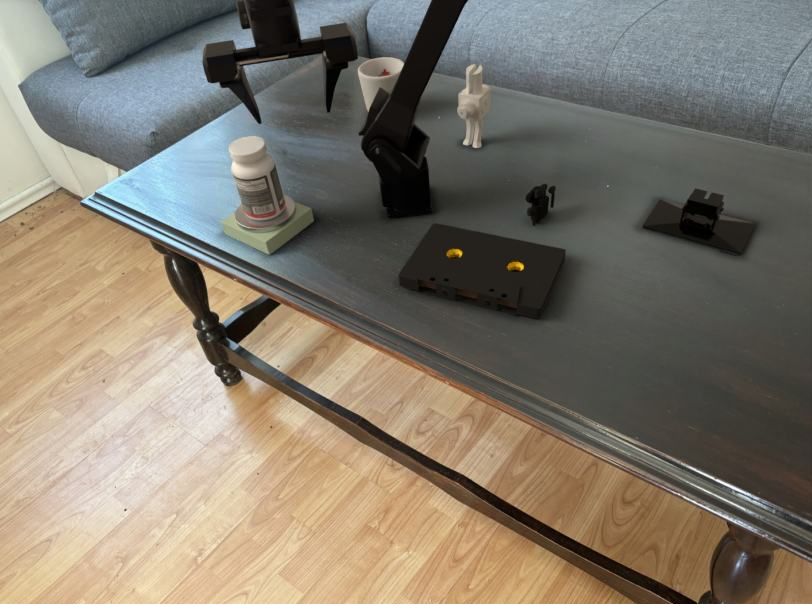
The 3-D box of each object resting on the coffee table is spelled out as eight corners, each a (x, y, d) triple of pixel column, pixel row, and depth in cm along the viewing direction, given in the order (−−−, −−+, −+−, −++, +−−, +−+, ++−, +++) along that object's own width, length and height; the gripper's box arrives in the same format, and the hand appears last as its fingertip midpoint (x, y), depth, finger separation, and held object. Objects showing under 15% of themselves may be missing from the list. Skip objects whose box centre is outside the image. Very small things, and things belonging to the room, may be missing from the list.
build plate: (754, 226, 85) (765, 195, 82) (739, 257, 81) (750, 227, 78) (659, 200, 90) (666, 171, 87) (640, 229, 86) (647, 199, 83)
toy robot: (496, 133, 106) (498, 59, 98) (473, 156, 102) (473, 80, 93) (475, 128, 108) (475, 55, 99) (451, 150, 104) (449, 75, 95)
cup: (427, 100, 116) (424, 55, 110) (423, 123, 110) (420, 76, 105) (367, 102, 117) (361, 57, 111) (360, 124, 112) (354, 78, 106)
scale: (271, 202, 97) (266, 184, 95) (315, 220, 93) (311, 202, 91) (225, 234, 93) (218, 216, 90) (269, 255, 88) (264, 237, 86)
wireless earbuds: (530, 234, 87) (533, 202, 84) (514, 228, 88) (516, 196, 85) (556, 207, 91) (559, 176, 87) (540, 202, 92) (543, 171, 88)
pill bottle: (264, 194, 94) (246, 129, 86) (294, 204, 91) (278, 139, 84) (236, 215, 90) (215, 150, 83) (266, 226, 88) (247, 160, 81)
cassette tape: (398, 287, 82) (397, 274, 80) (434, 234, 89) (433, 221, 87) (539, 321, 76) (540, 307, 74) (565, 261, 83) (566, 247, 81)
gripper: (337, -41, 83) (354, 80, 94) (189, -19, 81) (224, 101, 92) (349, -12, 75) (366, 116, 86) (185, 12, 74) (224, 139, 85)
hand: (294, 116), depth 88 cm, fingers open, 9 cm apart
